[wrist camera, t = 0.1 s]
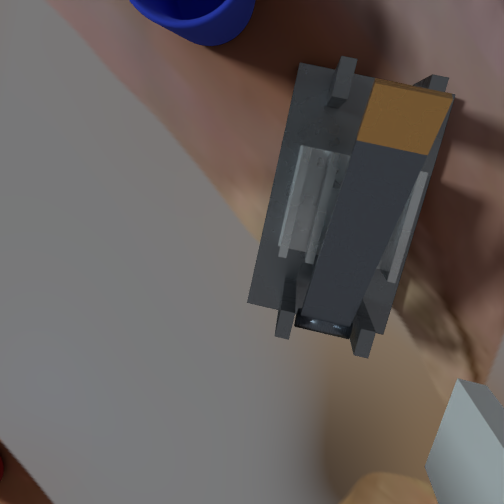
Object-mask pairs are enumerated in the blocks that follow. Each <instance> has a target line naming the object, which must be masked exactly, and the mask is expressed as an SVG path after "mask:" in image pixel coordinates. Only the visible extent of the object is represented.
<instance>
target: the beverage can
mask: <svg viewBox="0 0 504 504" xmlns="http://www.w3.org/2000/svg"><path fill="white" fill-rule="evenodd" d="M3 472H4V467H3V462H2V459H1V456H0V481H1V479H2V477H3Z"/></svg>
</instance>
